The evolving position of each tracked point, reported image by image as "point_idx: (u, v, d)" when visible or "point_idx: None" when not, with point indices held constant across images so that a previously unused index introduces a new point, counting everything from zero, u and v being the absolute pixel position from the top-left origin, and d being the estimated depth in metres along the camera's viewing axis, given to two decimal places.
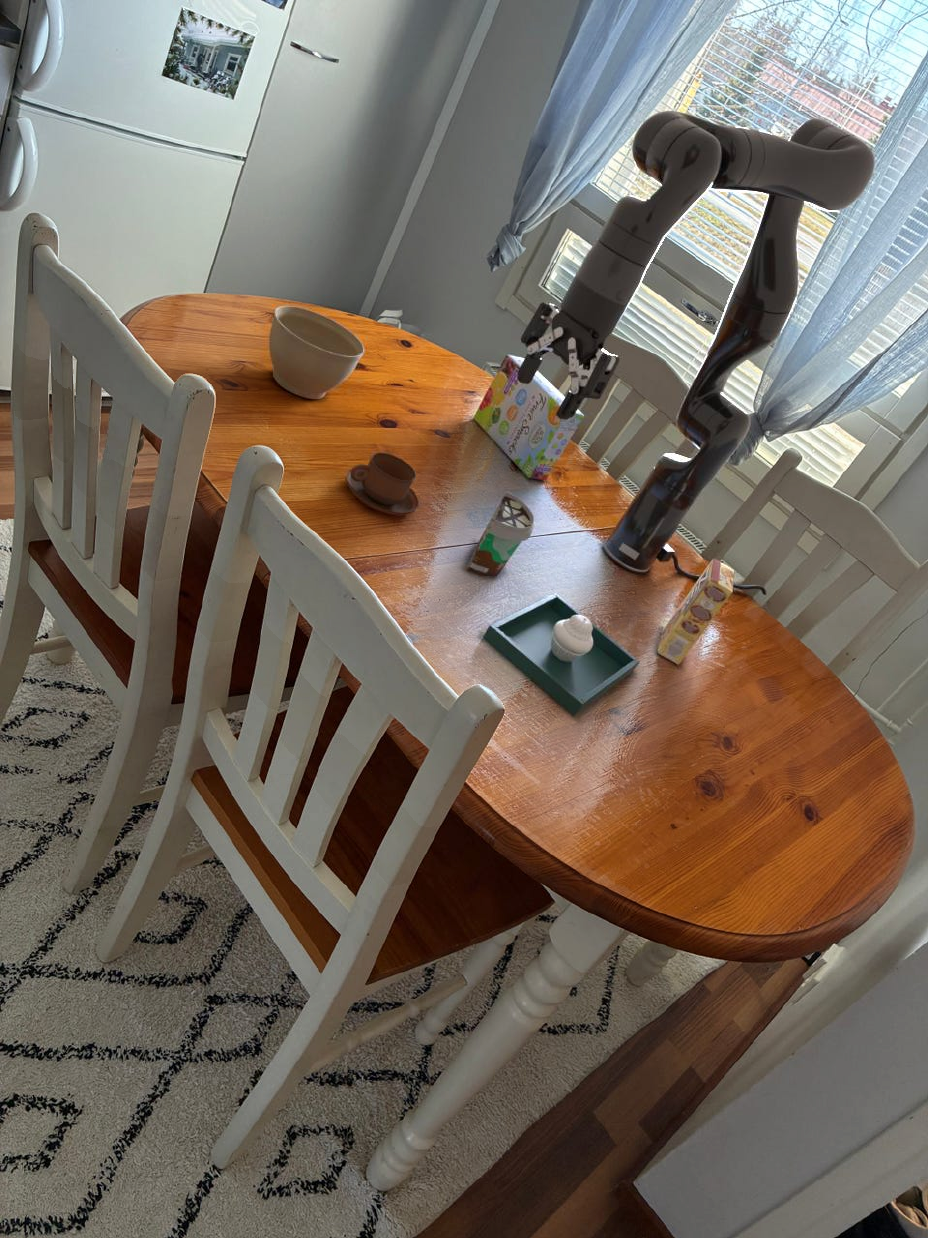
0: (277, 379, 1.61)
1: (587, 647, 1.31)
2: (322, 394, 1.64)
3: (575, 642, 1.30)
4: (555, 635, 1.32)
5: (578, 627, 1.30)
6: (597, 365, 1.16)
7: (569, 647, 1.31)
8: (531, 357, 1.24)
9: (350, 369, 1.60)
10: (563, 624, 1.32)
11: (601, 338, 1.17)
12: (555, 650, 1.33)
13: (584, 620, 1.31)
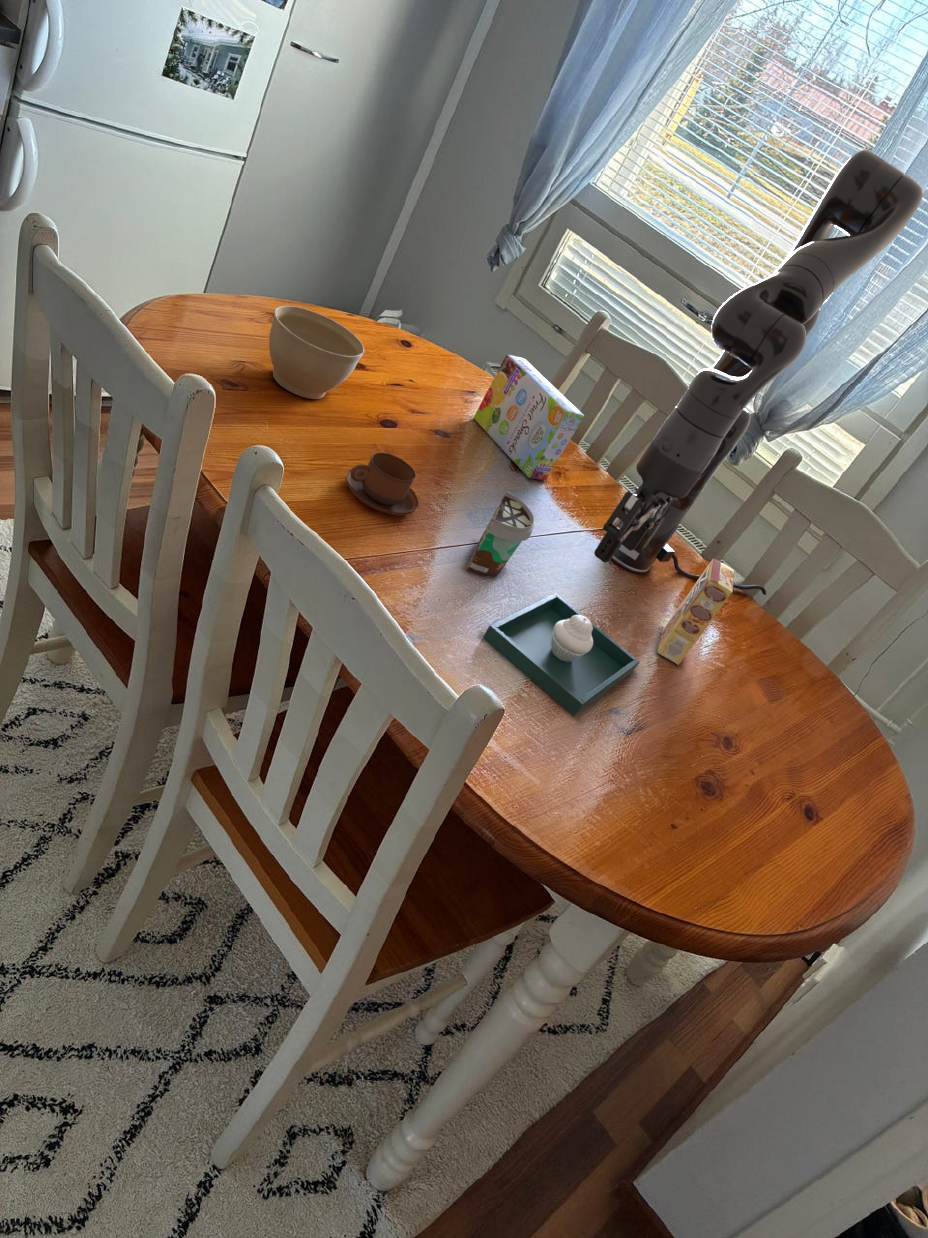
0: (277, 379, 1.61)
1: (587, 647, 1.31)
2: (322, 394, 1.64)
3: (575, 642, 1.30)
4: (555, 635, 1.32)
5: (578, 627, 1.30)
6: None
7: (569, 647, 1.31)
8: None
9: (350, 369, 1.60)
10: (563, 624, 1.32)
11: (646, 487, 1.17)
12: (555, 650, 1.33)
13: (584, 620, 1.31)
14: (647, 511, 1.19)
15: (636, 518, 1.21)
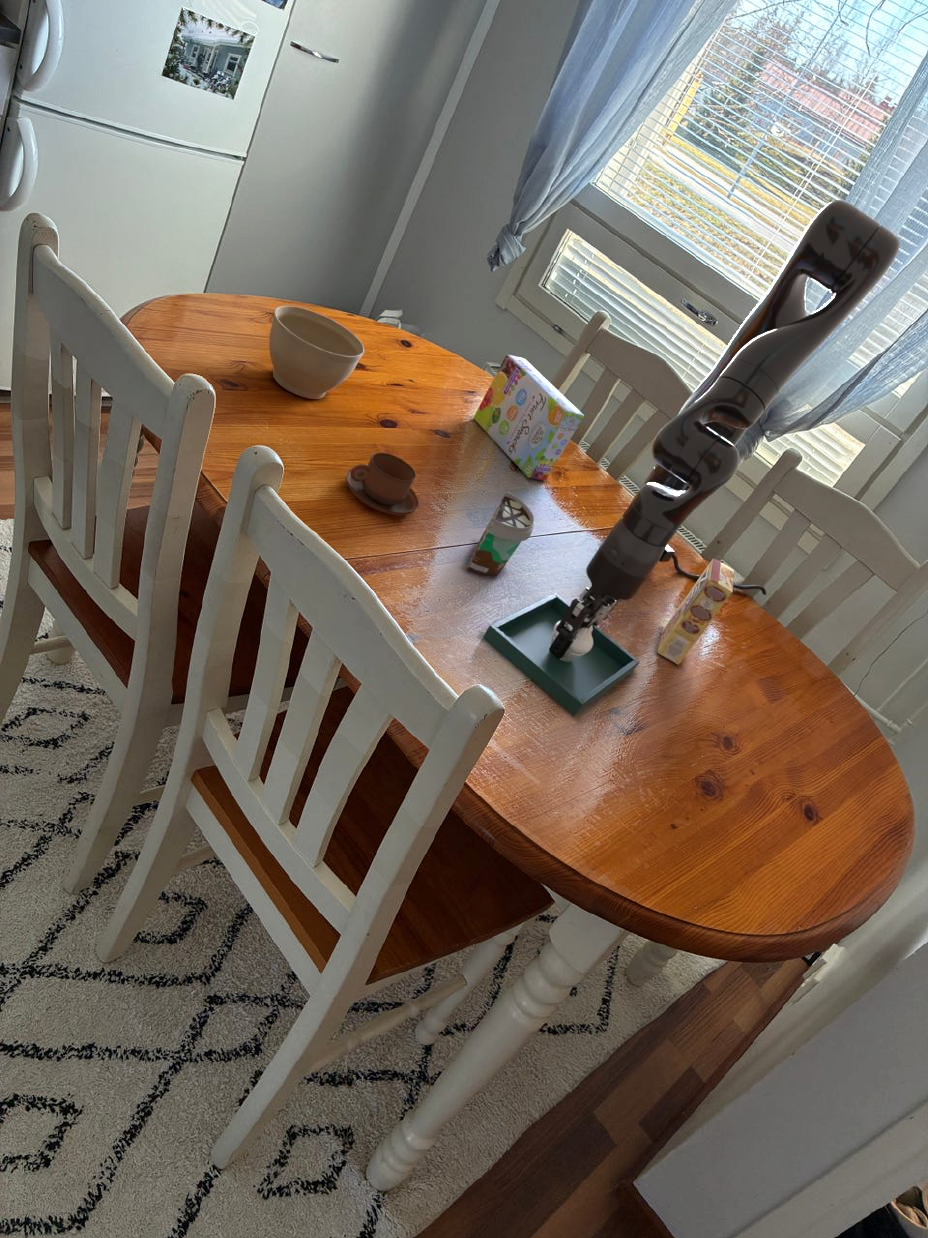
0: (277, 379, 1.61)
1: (587, 647, 1.31)
2: (322, 394, 1.64)
3: (575, 642, 1.30)
4: (555, 635, 1.32)
5: None
6: None
7: None
8: None
9: (350, 369, 1.60)
10: None
11: (594, 590, 1.25)
12: None
13: (584, 620, 1.31)
14: (596, 612, 1.27)
15: (586, 617, 1.28)
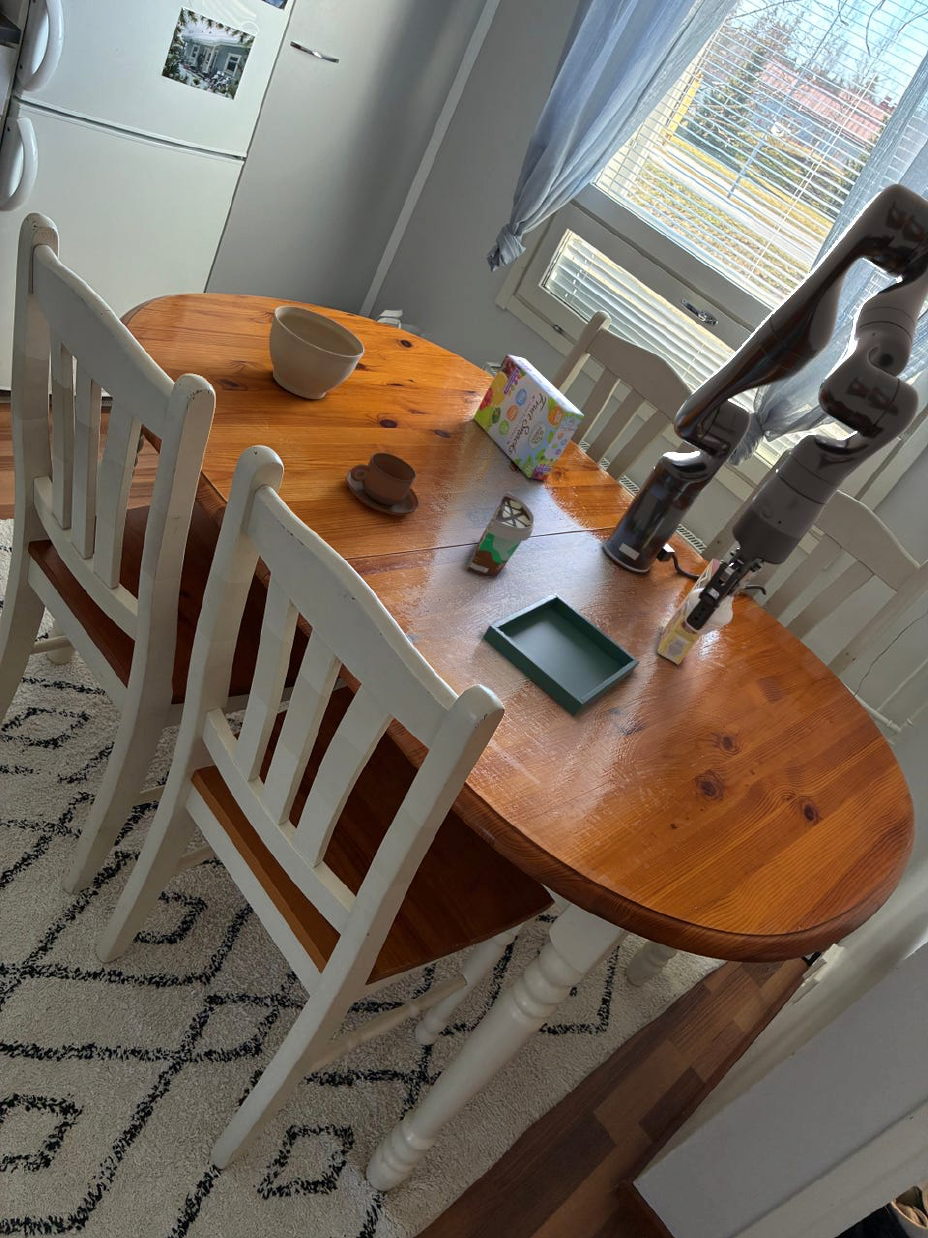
0: (277, 379, 1.61)
1: (728, 618, 1.20)
2: (322, 394, 1.64)
3: (716, 612, 1.19)
4: (692, 604, 1.20)
5: None
6: None
7: None
8: None
9: (350, 369, 1.60)
10: None
11: (744, 553, 1.14)
12: None
13: None
14: (743, 578, 1.16)
15: None
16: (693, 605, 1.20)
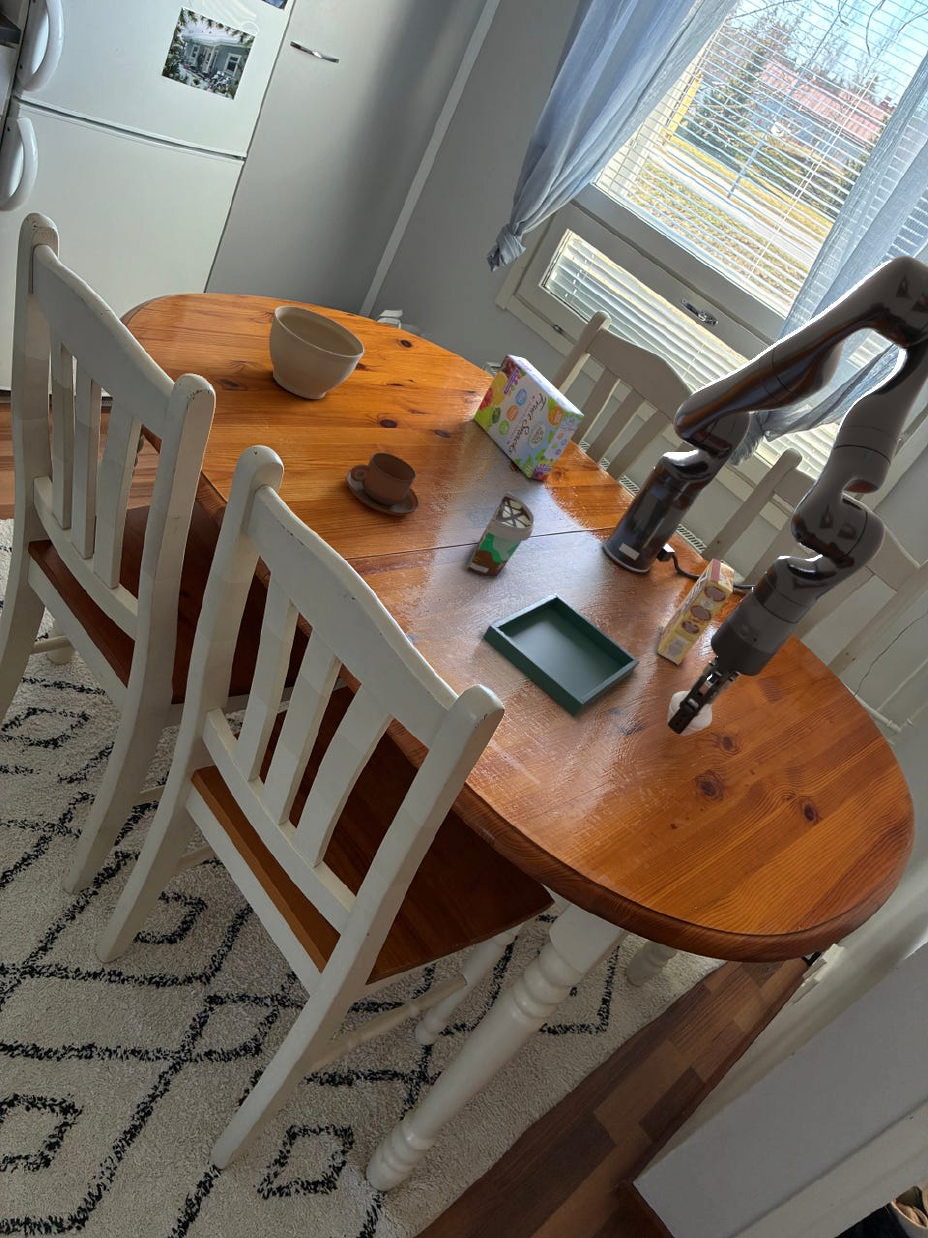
0: (277, 379, 1.61)
1: (707, 722, 1.26)
2: (322, 394, 1.64)
3: (696, 717, 1.25)
4: (674, 709, 1.26)
5: None
6: None
7: (690, 722, 1.25)
8: None
9: (350, 369, 1.60)
10: (682, 697, 1.26)
11: (721, 666, 1.19)
12: None
13: None
14: (721, 688, 1.22)
15: None
16: (674, 710, 1.26)
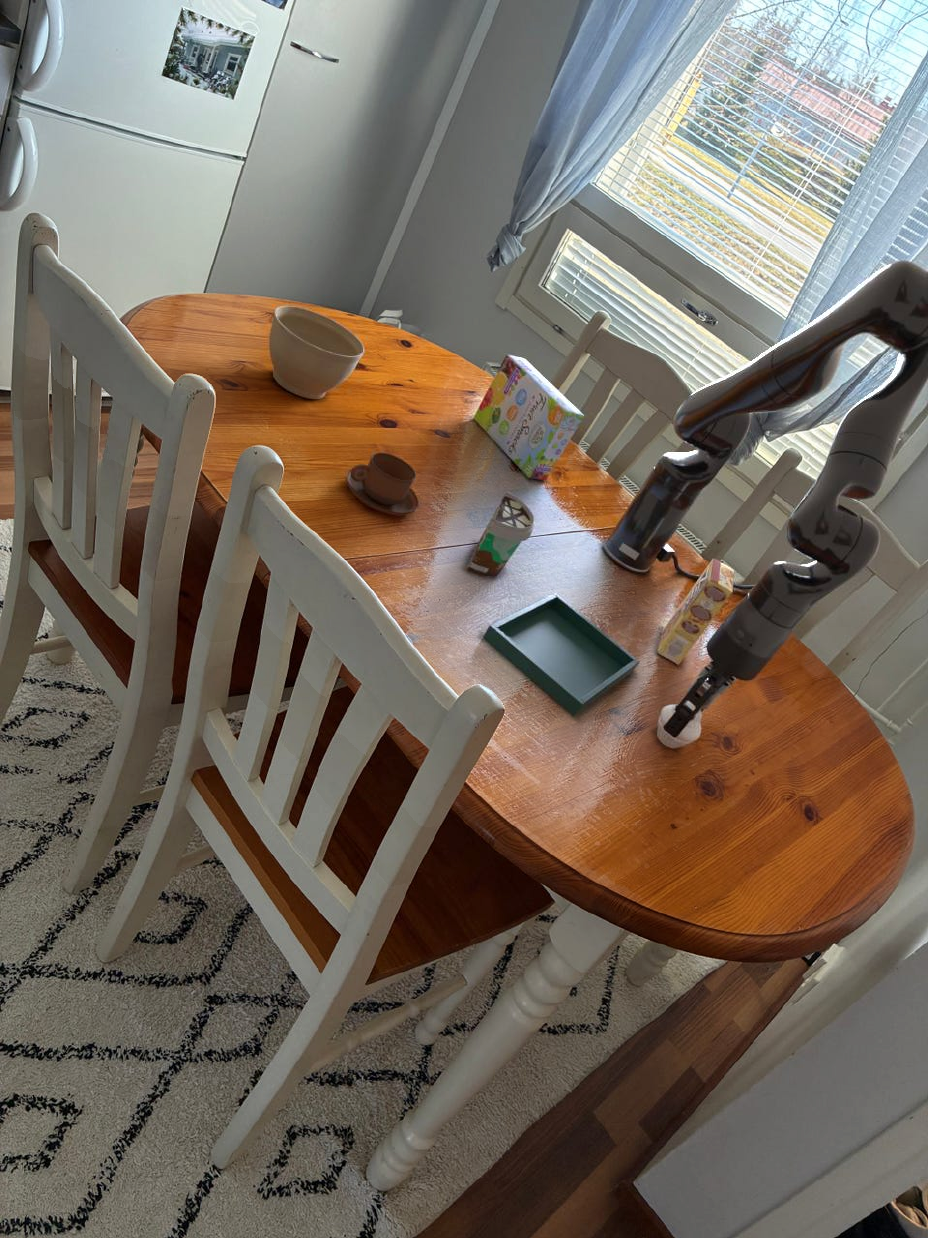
0: (277, 379, 1.61)
1: (696, 735, 1.27)
2: (322, 394, 1.64)
3: (685, 730, 1.26)
4: (663, 722, 1.27)
5: None
6: None
7: (679, 735, 1.26)
8: None
9: (350, 369, 1.60)
10: (671, 711, 1.28)
11: (717, 671, 1.20)
12: (662, 737, 1.29)
13: (694, 707, 1.27)
14: (717, 691, 1.22)
15: None
16: (664, 723, 1.27)
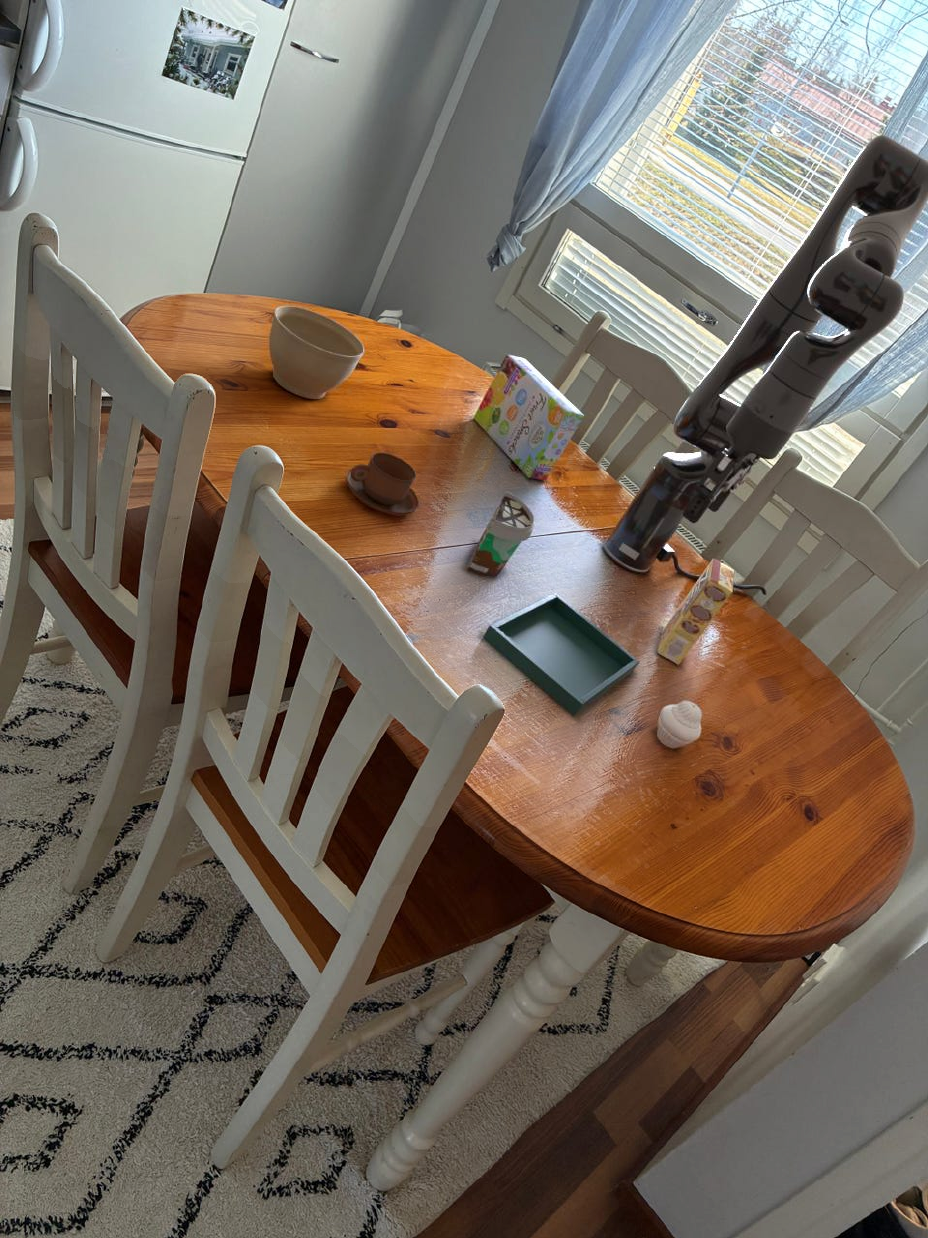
0: (277, 379, 1.61)
1: (696, 735, 1.27)
2: (322, 394, 1.64)
3: (685, 730, 1.26)
4: (663, 722, 1.27)
5: (688, 715, 1.26)
6: None
7: (679, 735, 1.26)
8: None
9: (350, 369, 1.60)
10: (671, 711, 1.28)
11: (737, 448, 1.20)
12: (662, 737, 1.29)
13: (694, 707, 1.27)
14: (737, 472, 1.22)
15: (725, 479, 1.23)
16: (664, 723, 1.27)
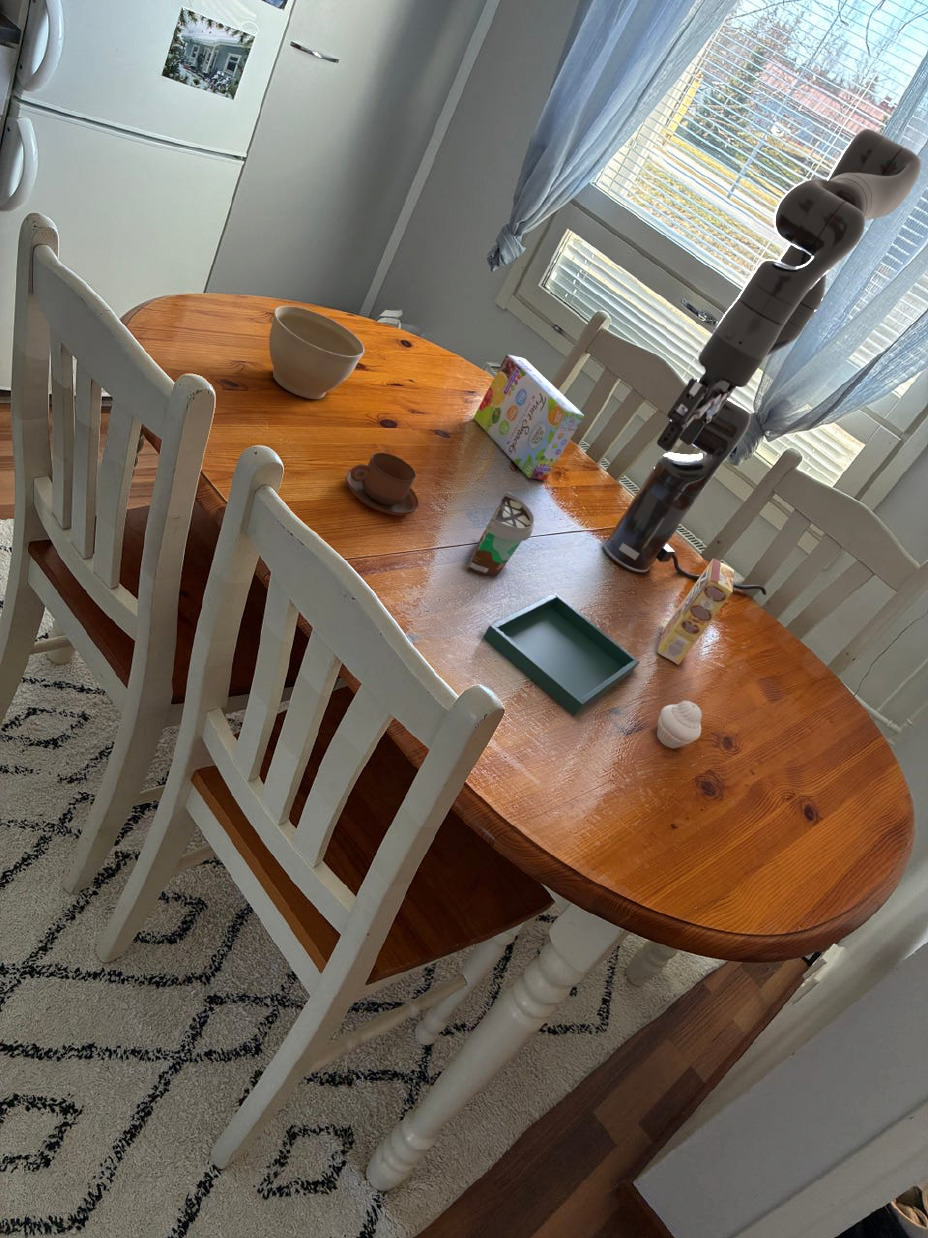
0: (277, 379, 1.61)
1: (696, 735, 1.27)
2: (322, 394, 1.64)
3: (685, 730, 1.26)
4: (663, 722, 1.27)
5: (688, 715, 1.26)
6: None
7: (679, 735, 1.26)
8: None
9: (350, 369, 1.60)
10: (671, 711, 1.28)
11: (708, 375, 1.24)
12: (662, 737, 1.29)
13: (694, 707, 1.27)
14: (709, 400, 1.26)
15: (697, 407, 1.27)
16: (664, 723, 1.27)
